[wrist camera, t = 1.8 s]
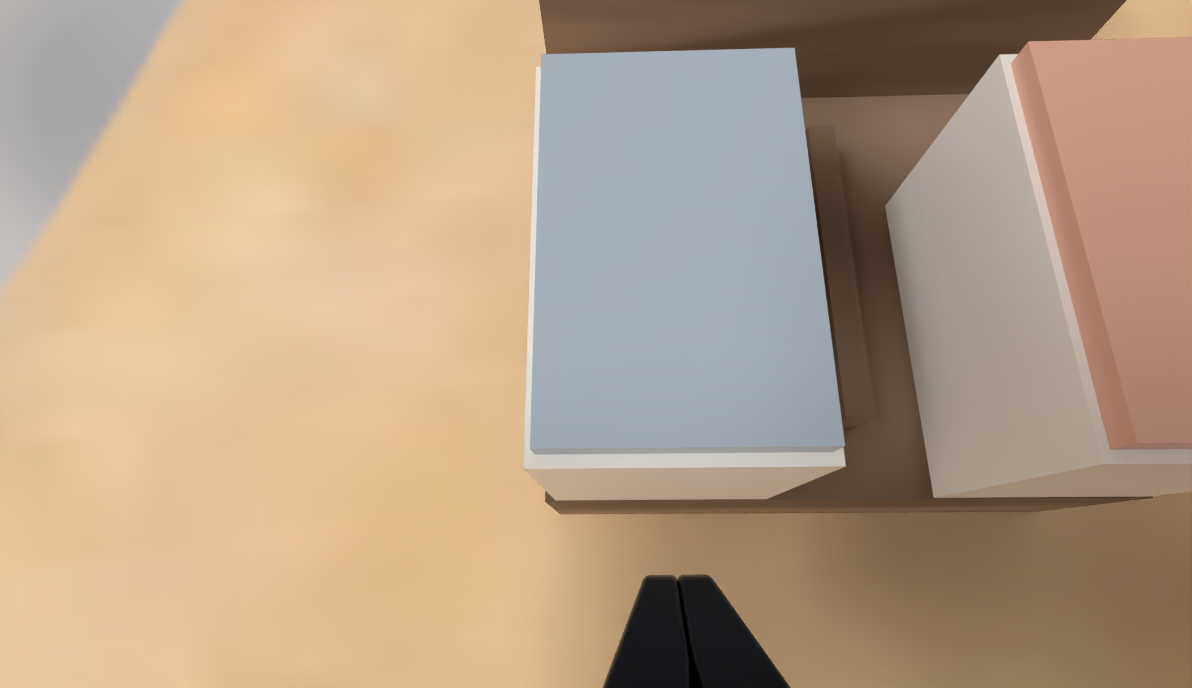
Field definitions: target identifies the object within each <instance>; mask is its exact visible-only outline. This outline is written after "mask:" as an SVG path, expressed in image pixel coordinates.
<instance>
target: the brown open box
mask: <svg viewBox="0 0 1192 688" xmlns="http://www.w3.org/2000/svg"><path fill="white" fill-rule="evenodd" d="M1125 1H1126V0H539V3H540V10H541V17H542V24H543V32H544V39H545V46H546V53H547V54H575V53H613V52H651V51H690V50H728V49H766V48H795V55H796V63H797V71H798V79H799V87H800V95H801V103H802V110H803V118H804V126H805V134H806V142H807V150H808V158H809V166H810V173H811V181H812V189H813V197H814V205H815V213H816V221H817V229H818V236H819V244H820V252H821V260H822V268H823V276H824V284H825V292H826V299H827V307H828V315H829V323H830V331H831V339H832V347H833V355H834V362H835V370H836V378H837V386H838V394H839V402H840V410H841V418H842V425H843V433H844V441H845V446H844V447H843V448H844V456H845V464H846V467H843V468H841V469H838V470H836V471H834V472H831V473H829V474H826V475H824V476H821V477H819V478H817V479H814V480H812V481H809V482H807V483H804V484H802V485H800V486H797V487H795V488H792V489H790V490H788V491H785V492H783V493H780V494H778V495H775V496H773V497H771V498H768V499H701V500H555V499H554V498H553V497H552V496H550V495H549V494H548V493H547V492H546V493H545V502H546V503H548V504H549V505H550V506H551V507H552V508H554V509H555V510H556V511H557V512H558V513H560V514H680V513H849V512H1017V511H1045V510H1053V509H1062V508H1070V507H1079V506H1087V505H1096V504H1104V503H1113V502H1121V501H1130V500H1138V499H1147V498H1153V496H1138V497H986V498H934V497H933V491H932V485H931V479H930V473H929V467H928V461H927V455H926V449H925V443H924V437H923V430H922V424H921V418H920V412H919V406H918V400H917V394H916V388H915V382H914V376H913V370H912V364H911V358H910V352H909V346H908V340H907V334H906V328H905V322H904V316H903V310H902V304H901V298H900V292H899V286H898V280H897V274H896V268H895V262H894V256H893V250H892V244H891V238H890V232H889V226H888V220H887V214H886V208H885V205H886V204H887V203H888V201H889V200H890V199H891V198H892V196H893V195H894V194H895V192H896V191H897V190H898V188H899V187H900V186H901V184H902V183H903V182H904V180H905V179H906V178H907V176H908V175H909V174H910V172H911V171H912V170H913V168H914V167H915V166H916V164H917V163H918V162H919V160H920V159H921V158H922V156H923V155H924V154H925V152H926V151H927V150H928V148H929V147H930V146H931V145H932V143H933V142H934V141H935V139H936V138H937V137H938V135H939V134H940V133H941V131H942V130H943V129H944V127H945V126H946V125H947V123H948V122H949V121H950V119H951V118H952V117H953V115H954V114H955V113H956V111H957V110H958V109H959V107H960V106H961V105H962V103H963V102H964V101H965V99H966V98H967V97H968V95H969V94H970V93H971V92H972V90H973V89H974V88H975V86H976V85H977V84H978V82H979V81H980V80H981V78H982V77H983V76H984V74H985V73H986V72H987V70H988V69H989V68H990V66H991V65H992V64H993V62H994V61H995V60H996V58H997V57H998V56H999V55H1003V54H1019V53H1020V51H1021V50H1022V49H1023V48H1024V46H1025V45H1026V44H1027V42H1028V41H1066V40H1091V39H1092V37H1093V36H1094V35H1095V34H1096V33H1097V32H1098V31H1099V30H1100V29H1101V28H1102V26H1103V25H1104V24H1105V23H1106V22H1107V21H1108V20H1109V19H1110V18H1111V17H1112V15H1113V14H1114V13H1115V12H1116V11H1117V10H1118V9H1119V8H1120V7H1121V6H1122V4H1123V3H1124V2H1125Z"/></svg>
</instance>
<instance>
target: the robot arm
mask: <svg viewBox="0 0 1192 688" xmlns="http://www.w3.org/2000/svg"><path fill="white" fill-rule="evenodd" d="M603 688H790V686H789V685H788V683H787V682H786V681H785V679H784V678H783V676H782V675H781V674H780V672H779V671H778V669H777V668H776V667H775V665H774V664H773V663H772V661H771V660H770V658H769V657H768V656H767V654H766V653H765V651H764V650H763V649H762V647H761V646H760V644H759V643H758V642H757V640H756V639H755V637H754V636H753V635H752V633H751V632H750V630H749V629H748V628H747V626H746V625H745V623H744V622H743V621H742V619H741V618H740V616H739V615H738V614H737V612H736V611H735V609H734V608H733V607H732V605H731V604H730V602H729V601H728V600H727V598H726V597H725V595H724V594H723V593H722V591H721V590H720V588H719V587H718V586H717V584H716V583H715V582H714V580H713V579H712V578H711V577H710V576H708V575H681V576H680V577H678V579H676V577H675V576H673V575H649V576H646V577H645V578H644V579H643V581H642V584H641V587H640V589H639V592H638V595H637V597H636V600H635V603H634V605H633V608H632V611H631V613H630V616H629V619H628V621H627V624H626V627H625V629H624V632H623V635H622V637H621V640H620V643H619V645H618V648H617V651H616V653H615V656H614V659H613V661H612V664H611V667H610V669H609V672H608V675H607V677H606V680H605V683H604V685H603Z"/></svg>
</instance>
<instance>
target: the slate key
mask: <svg viewBox="0 0 1192 688" xmlns="http://www.w3.org/2000/svg"><path fill="white" fill-rule="evenodd" d="M844 446H845V441H844V433H843V425H842V418H841V410H840V402H839V394H838V386H837V378H836V370H835V362H834V355H833V347H832V339H831V331H830V323H829V315H828V307H827V299H826V292H825V284H824V276H823V268H822V260H821V252H820V244H819V236H818V229H817V221H816V213H815V205H814V197H813V189H812V181H811V173H810V166H809V158H808V150H807V142H806V134H805V126H804V118H803V110H802V103H801V95H800V87H799V79H798V71H797V63H796V55H795V48H766V49H728V50H690V51H651V52H613V53H575V54H541V67H536V90H535V122H534V153H533V185H532V216H531V247H530V279H529V310H528V341H527V373H526V404H525V435H524V467H523V469H524V470H525V471H526V472H527V473H528V474H529V475H530V476H531V477H532V478H533V479H534V480H535V481H536V482H537V483H538V484H539V485H540V486H541V487H542V488H543V489H544V490H545V491H546V492H547V493H548V494H549V495H550V496H552V497H553V498H554V499H555V500H701V499H768V498H771V497H773V496H775V495H778V494H780V493H783V492H785V491H788V490H790V489H792V488H795V487H797V486H800V485H802V484H804V483H807V482H809V481H812V480H814V479H817V478H819V477H821V476H824V475H826V474H829V473H831V472H834V471H836V470H838V469H841V468H843V467H846V464H845V456H844V448H843V447H844Z"/></svg>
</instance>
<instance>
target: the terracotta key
mask: <svg viewBox="0 0 1192 688" xmlns="http://www.w3.org/2000/svg"><path fill="white" fill-rule="evenodd" d="M885 208H886V214H887V220H888V226H889V232H890V238H891V244H892V250H893V256H894V262H895V268H896V274H897V280H898V286H899V292H900V298H901V304H902V310H903V316H904V322H905V328H906V334H907V340H908V346H909V352H910V358H911V364H912V370H913V376H914V382H915V388H916V394H917V400H918V406H919V412H920V418H921V424H922V430H923V437H924V443H925V449H926V455H927V461H928V467H929V473H930V479H931V485H932V491H933V497H934V498H986V497H1138V496H1160V495H1168V494H1176V493H1185V492H1192V37H1180V38H1142V39H1104V40H1066V41H1028V42H1027V44H1026V45H1025V46H1024V48H1023V49H1022V50H1021V51H1020V53H1019V54H1003V55H999V56H998V57H997V58H996V60H995V61H994V62H993V64H992V65H991V66H990V68H989V69H988V70H987V72H986V73H985V74H984V76H983V77H982V78H981V80H980V81H979V82H978V84H977V85H976V86H975V88H974V89H973V90H972V92H971V93H970V94H969V95H968V97H967V98H966V99H965V101H964V102H963V103H962V105H961V106H960V107H959V109H958V110H957V111H956V113H955V114H954V115H953V117H952V118H951V119H950V121H949V122H948V123H947V125H946V126H945V127H944V129H943V130H942V131H941V133H940V134H939V135H938V137H937V138H936V139H935V141H934V142H933V143H932V145H931V146H930V147H929V148H928V150H927V151H926V152H925V154H924V155H923V156H922V158H921V159H920V160H919V162H918V163H917V164H916V166H915V167H914V168H913V170H912V171H911V172H910V174H909V175H908V176H907V178H906V179H905V180H904V182H903V183H902V184H901V186H900V187H899V188H898V190H897V191H896V192H895V194H894V195H893V196H892V198H891V199H890V200H889V201H888V203H887V204H886V205H885Z"/></svg>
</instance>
